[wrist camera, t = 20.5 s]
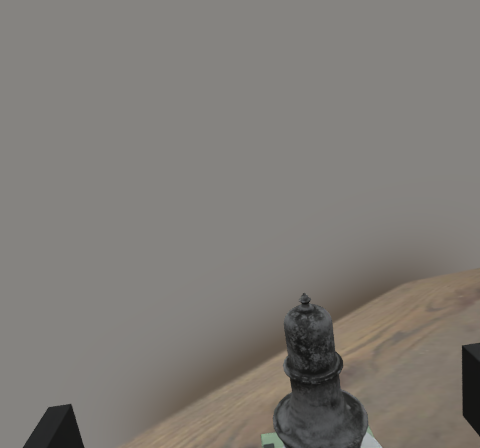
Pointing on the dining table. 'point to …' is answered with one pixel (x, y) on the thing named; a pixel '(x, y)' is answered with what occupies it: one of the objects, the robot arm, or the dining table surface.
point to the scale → (274, 444)
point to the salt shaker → (316, 386)
